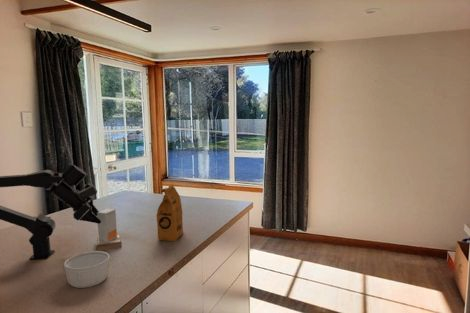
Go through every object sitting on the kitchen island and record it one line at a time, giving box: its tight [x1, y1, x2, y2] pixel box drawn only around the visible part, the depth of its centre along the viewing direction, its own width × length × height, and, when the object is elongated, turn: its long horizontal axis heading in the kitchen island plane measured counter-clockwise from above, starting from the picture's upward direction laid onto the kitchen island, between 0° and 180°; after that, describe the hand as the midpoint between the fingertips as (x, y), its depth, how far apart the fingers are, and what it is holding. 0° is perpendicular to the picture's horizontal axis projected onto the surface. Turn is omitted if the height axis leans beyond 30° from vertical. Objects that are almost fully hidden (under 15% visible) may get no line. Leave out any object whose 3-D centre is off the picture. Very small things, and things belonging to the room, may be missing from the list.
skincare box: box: [97, 208, 118, 242], centre depth 131 cm, size 6×4×12 cm
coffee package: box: [156, 183, 184, 242], centre depth 139 cm, size 10×12×22 cm
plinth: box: [96, 233, 122, 252], centre depth 132 cm, size 9×9×2 cm
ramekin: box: [63, 250, 111, 289], centre depth 104 cm, size 13×13×7 cm
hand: (100, 219), depth 130 cm, fingers open, 9 cm apart
